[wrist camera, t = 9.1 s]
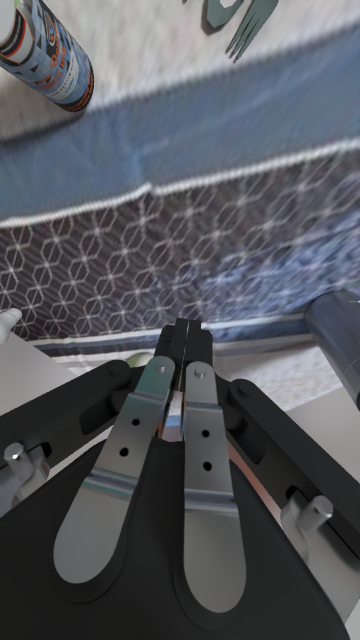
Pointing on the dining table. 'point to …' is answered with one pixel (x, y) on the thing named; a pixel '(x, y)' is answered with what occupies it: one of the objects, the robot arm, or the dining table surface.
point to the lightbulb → (8, 323)
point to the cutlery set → (259, 11)
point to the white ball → (143, 359)
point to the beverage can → (44, 54)
